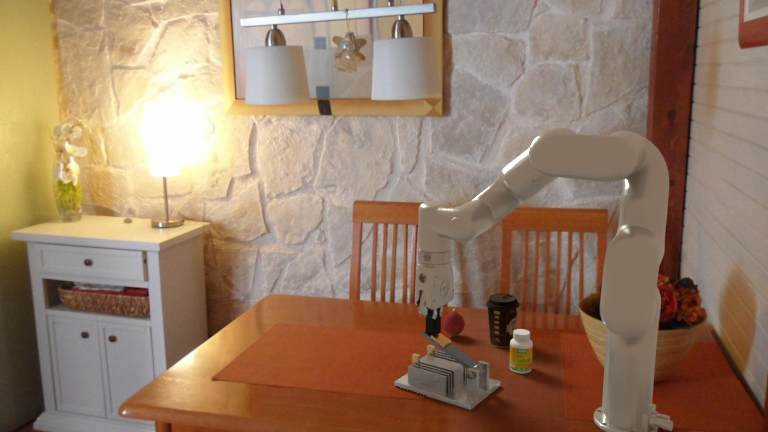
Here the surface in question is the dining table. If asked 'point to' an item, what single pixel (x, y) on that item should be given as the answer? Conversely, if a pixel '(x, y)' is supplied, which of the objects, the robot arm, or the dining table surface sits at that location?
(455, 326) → the onion
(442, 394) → the heatsink base
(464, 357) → the strap
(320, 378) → the dining table surface
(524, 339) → the supplement bottle
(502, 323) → the coffee cup
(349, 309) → the dining table surface
